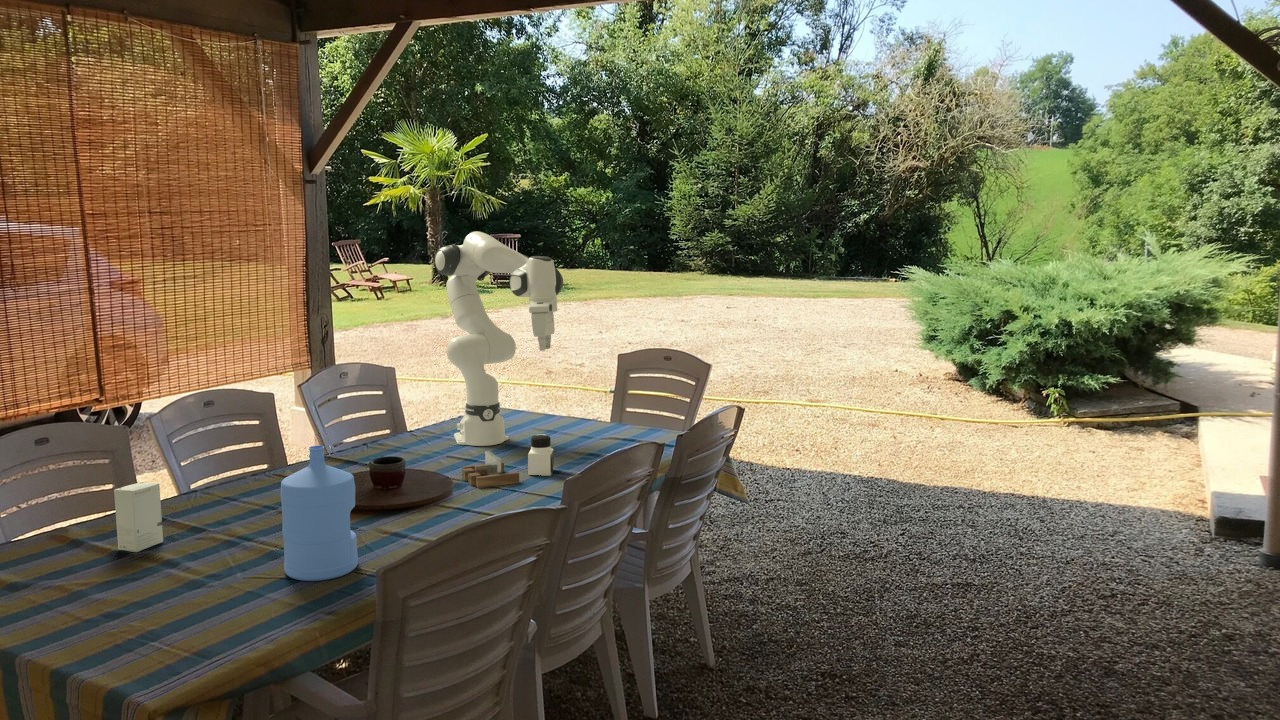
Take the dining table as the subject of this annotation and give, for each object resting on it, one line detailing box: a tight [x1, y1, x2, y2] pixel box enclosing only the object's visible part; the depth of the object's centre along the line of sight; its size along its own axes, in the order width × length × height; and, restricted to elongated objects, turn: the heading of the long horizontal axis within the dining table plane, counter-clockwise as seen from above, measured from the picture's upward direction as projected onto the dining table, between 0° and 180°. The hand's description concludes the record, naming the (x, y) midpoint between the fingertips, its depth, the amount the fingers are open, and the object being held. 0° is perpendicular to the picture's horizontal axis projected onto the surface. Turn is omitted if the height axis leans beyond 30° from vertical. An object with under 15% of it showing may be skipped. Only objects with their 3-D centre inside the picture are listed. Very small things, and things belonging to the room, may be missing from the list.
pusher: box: [475, 450, 502, 476], centre depth 277 cm, size 11×6×7 cm, turn 28°
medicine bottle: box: [527, 433, 555, 477], centre depth 285 cm, size 7×7×12 cm
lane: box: [461, 461, 520, 489], centre depth 278 cm, size 15×14×3 cm
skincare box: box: [113, 481, 164, 553], centre depth 217 cm, size 8×6×15 cm
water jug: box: [279, 445, 359, 582], centre depth 203 cm, size 16×16×28 cm
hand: (545, 349), depth 293 cm, fingers open, 8 cm apart
